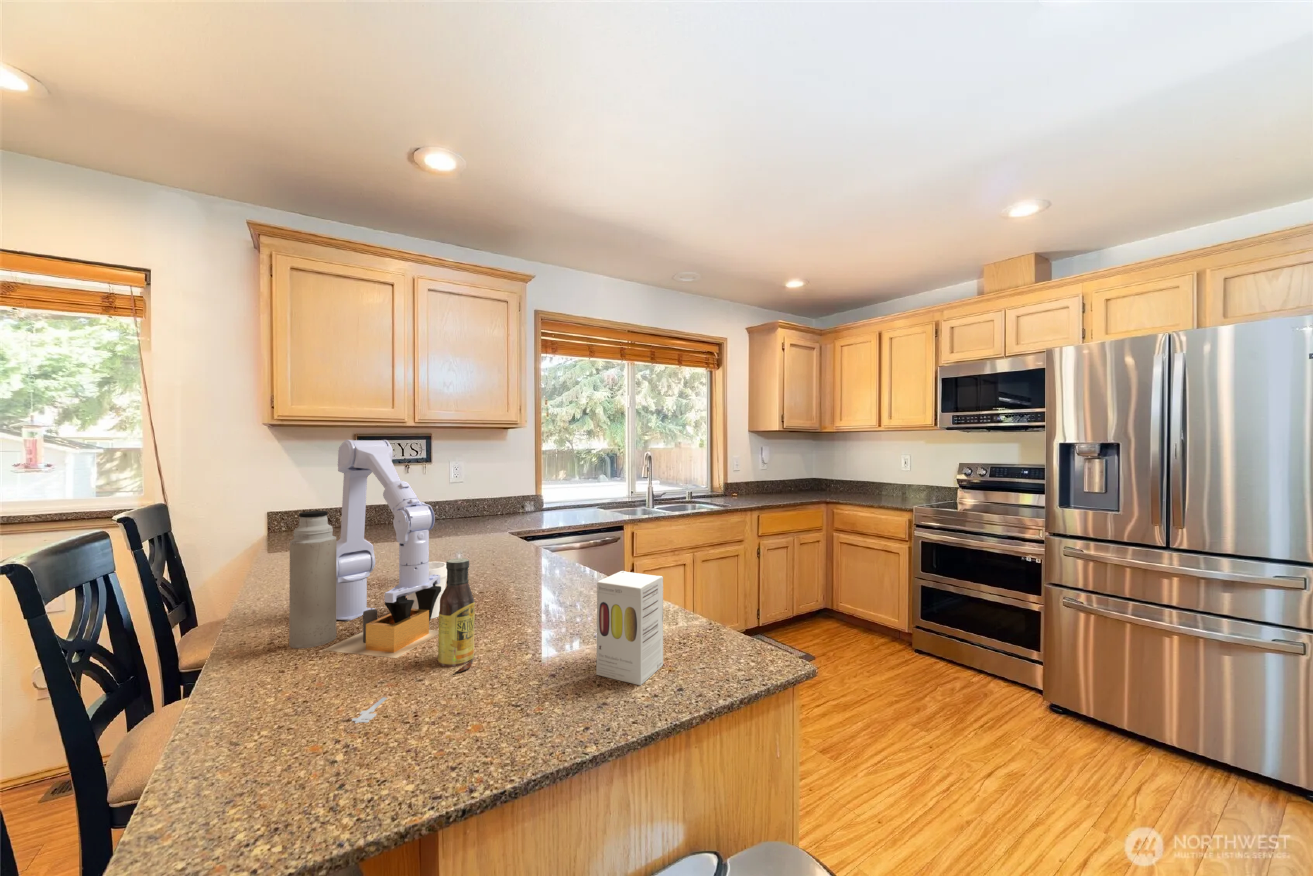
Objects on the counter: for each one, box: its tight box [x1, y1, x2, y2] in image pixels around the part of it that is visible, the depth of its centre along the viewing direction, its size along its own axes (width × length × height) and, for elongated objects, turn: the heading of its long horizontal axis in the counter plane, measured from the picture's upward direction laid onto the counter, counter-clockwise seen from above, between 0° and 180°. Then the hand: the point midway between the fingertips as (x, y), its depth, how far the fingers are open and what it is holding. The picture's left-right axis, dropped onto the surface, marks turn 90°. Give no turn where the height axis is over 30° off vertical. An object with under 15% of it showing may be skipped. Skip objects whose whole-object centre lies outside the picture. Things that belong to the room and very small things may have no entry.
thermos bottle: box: [288, 510, 337, 649], centre depth 103 cm, size 8×8×28 cm
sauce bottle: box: [437, 557, 476, 673], centre depth 94 cm, size 6×6×20 cm
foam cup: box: [406, 561, 447, 620], centre depth 118 cm, size 10×9×13 cm
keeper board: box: [323, 608, 439, 659], centre depth 103 cm, size 17×14×8 cm
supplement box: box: [595, 570, 664, 686], centre depth 92 cm, size 10×9×17 cm
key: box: [351, 697, 388, 724], centre depth 81 cm, size 12×1×3 cm
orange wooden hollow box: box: [366, 609, 430, 653], centre depth 102 cm, size 10×6×5 cm, turn 167°
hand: (414, 626), depth 107 cm, fingers open, 6 cm apart
